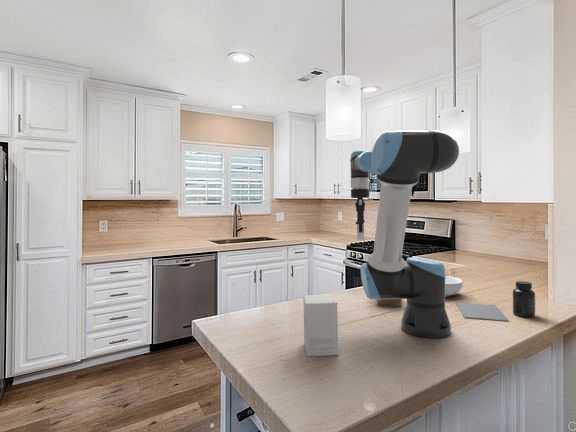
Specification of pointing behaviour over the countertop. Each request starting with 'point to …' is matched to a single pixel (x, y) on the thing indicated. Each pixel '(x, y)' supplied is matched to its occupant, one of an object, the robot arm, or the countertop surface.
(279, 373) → the countertop surface
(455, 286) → the cereal bowl
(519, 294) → the supplement bottle
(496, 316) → the slate mat
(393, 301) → the walnut cover
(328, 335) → the supplement box
